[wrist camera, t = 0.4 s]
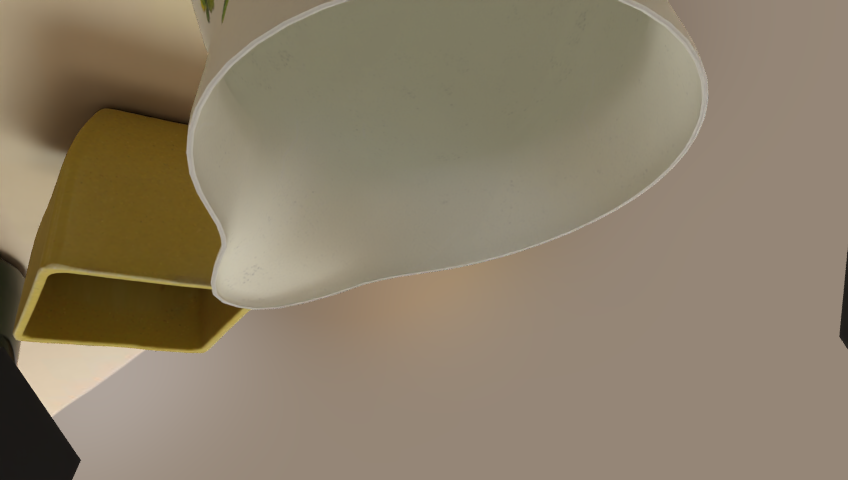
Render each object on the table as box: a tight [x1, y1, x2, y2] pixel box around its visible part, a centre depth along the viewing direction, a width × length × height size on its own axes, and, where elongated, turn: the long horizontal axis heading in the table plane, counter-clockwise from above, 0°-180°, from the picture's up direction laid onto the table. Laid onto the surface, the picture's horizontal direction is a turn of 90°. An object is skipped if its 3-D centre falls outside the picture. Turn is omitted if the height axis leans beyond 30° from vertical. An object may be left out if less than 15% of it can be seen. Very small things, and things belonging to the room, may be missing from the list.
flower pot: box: [13, 108, 251, 353], centre depth 36 cm, size 9×9×9 cm
